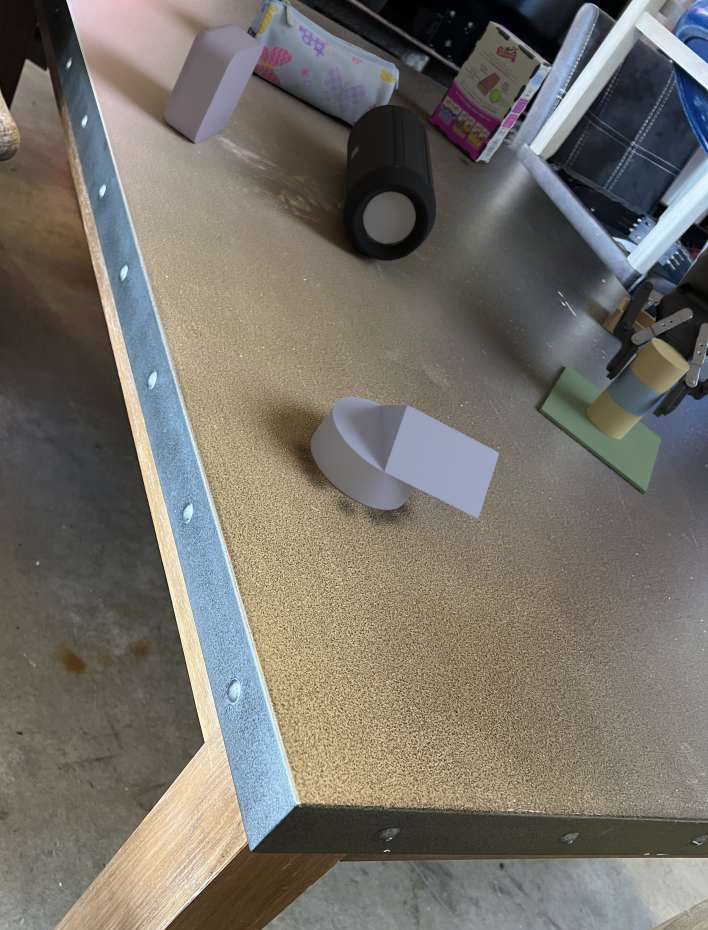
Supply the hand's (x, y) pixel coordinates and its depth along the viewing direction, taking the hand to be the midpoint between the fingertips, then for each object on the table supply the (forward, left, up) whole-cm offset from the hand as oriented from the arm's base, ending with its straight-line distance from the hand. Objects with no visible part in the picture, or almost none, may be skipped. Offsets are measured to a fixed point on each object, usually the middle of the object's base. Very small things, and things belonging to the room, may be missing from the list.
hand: (635, 394), depth 103 cm
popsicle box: (+41, -63, -6) cm, 75 cm away
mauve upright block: (+56, +4, -6) cm, 56 cm away
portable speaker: (+36, -8, -6) cm, 38 cm away
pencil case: (+57, -30, -6) cm, 64 cm away
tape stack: (0, -2, -5) cm, 5 cm away
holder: (+2, -36, -5) cm, 36 cm away
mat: (0, -2, -5) cm, 6 cm away
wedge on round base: (+15, +38, -6) cm, 41 cm away
